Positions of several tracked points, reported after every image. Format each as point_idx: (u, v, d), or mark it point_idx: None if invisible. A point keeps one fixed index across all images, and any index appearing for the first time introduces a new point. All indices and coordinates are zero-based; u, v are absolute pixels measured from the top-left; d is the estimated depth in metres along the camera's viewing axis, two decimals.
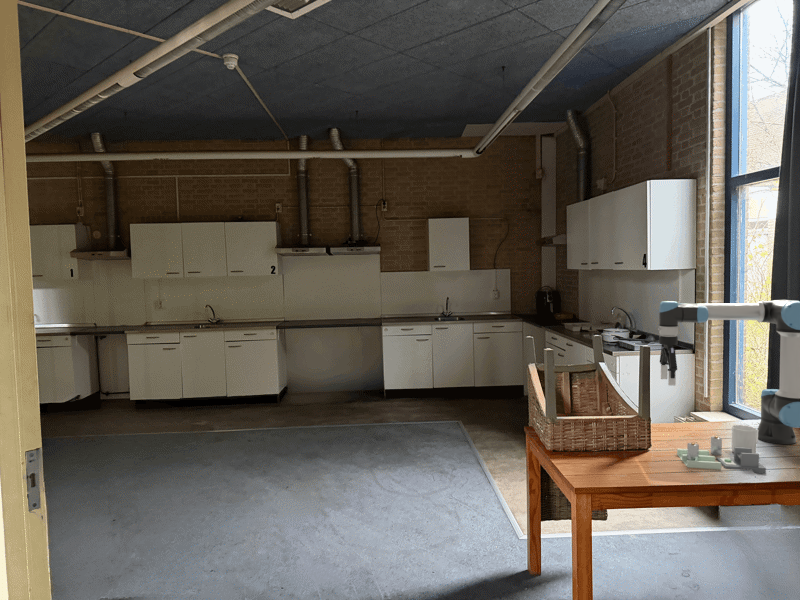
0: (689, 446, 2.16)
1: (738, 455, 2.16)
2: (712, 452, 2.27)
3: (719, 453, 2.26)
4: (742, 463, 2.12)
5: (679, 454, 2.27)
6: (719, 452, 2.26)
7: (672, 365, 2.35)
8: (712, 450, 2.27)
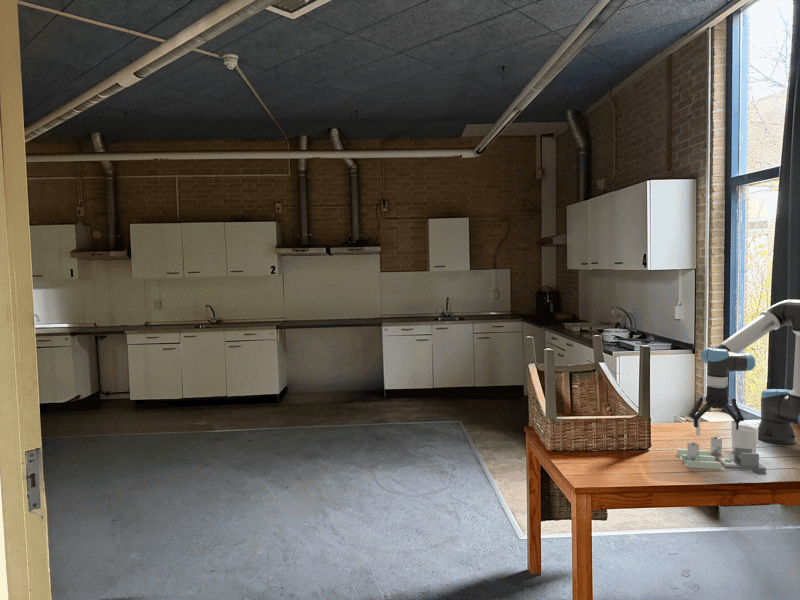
0: (689, 446, 2.16)
1: (738, 455, 2.16)
2: (712, 452, 2.27)
3: (719, 453, 2.26)
4: (742, 463, 2.12)
5: (679, 454, 2.27)
6: (719, 452, 2.26)
7: (691, 412, 2.30)
8: (712, 450, 2.27)
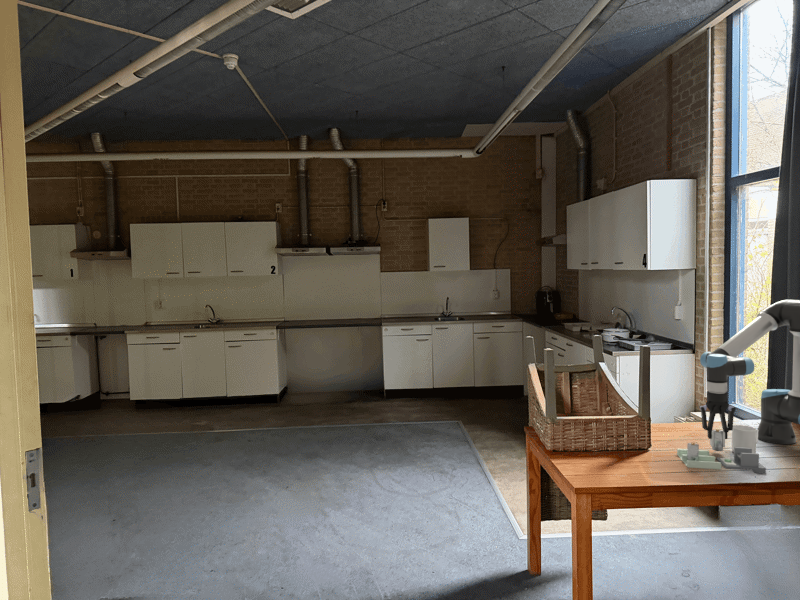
0: (689, 446, 2.16)
1: (738, 455, 2.16)
2: None
3: (720, 446, 2.26)
4: (742, 463, 2.12)
5: (679, 454, 2.27)
6: (720, 445, 2.26)
7: (702, 424, 2.29)
8: None
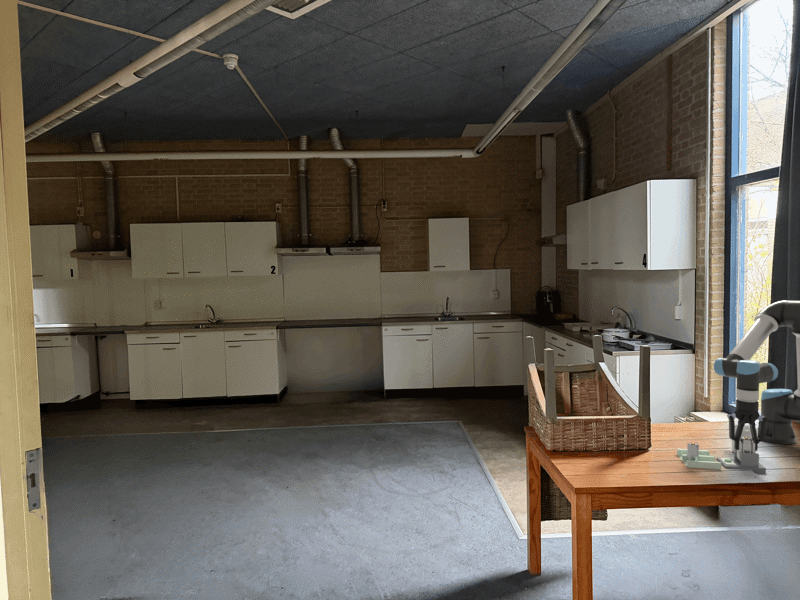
0: (689, 446, 2.16)
1: (738, 458, 2.16)
2: None
3: None
4: (742, 463, 2.12)
5: (679, 454, 2.27)
6: None
7: (729, 434, 2.16)
8: (742, 452, 2.14)
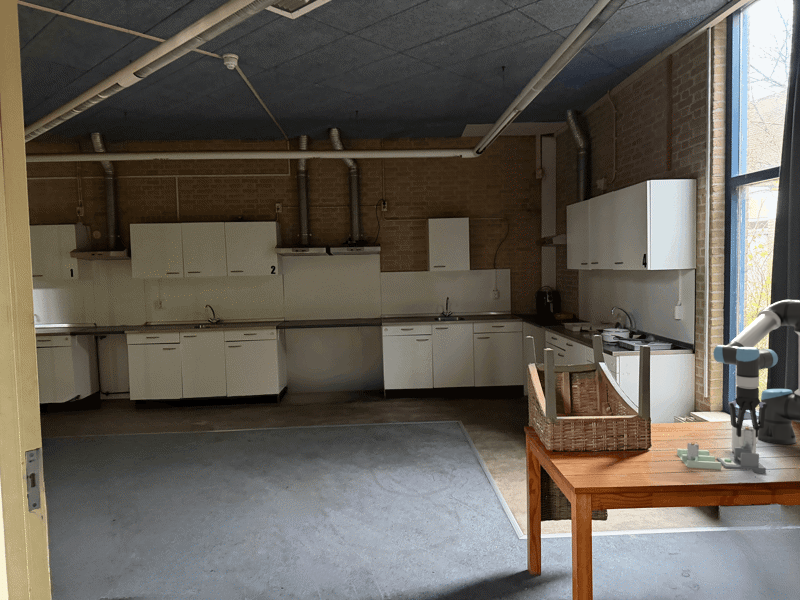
0: (689, 446, 2.16)
1: (738, 457, 2.16)
2: None
3: (750, 445, 2.12)
4: (742, 463, 2.12)
5: (679, 454, 2.27)
6: (750, 444, 2.12)
7: (731, 421, 2.16)
8: None
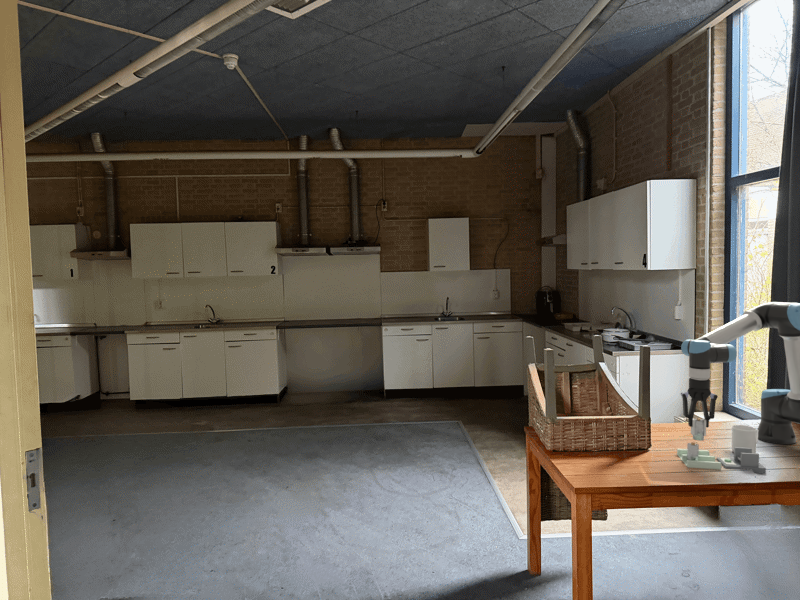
0: (689, 446, 2.16)
1: (738, 457, 2.16)
2: None
3: (701, 435, 2.20)
4: (742, 463, 2.12)
5: (679, 454, 2.27)
6: (701, 434, 2.20)
7: (683, 411, 2.23)
8: None
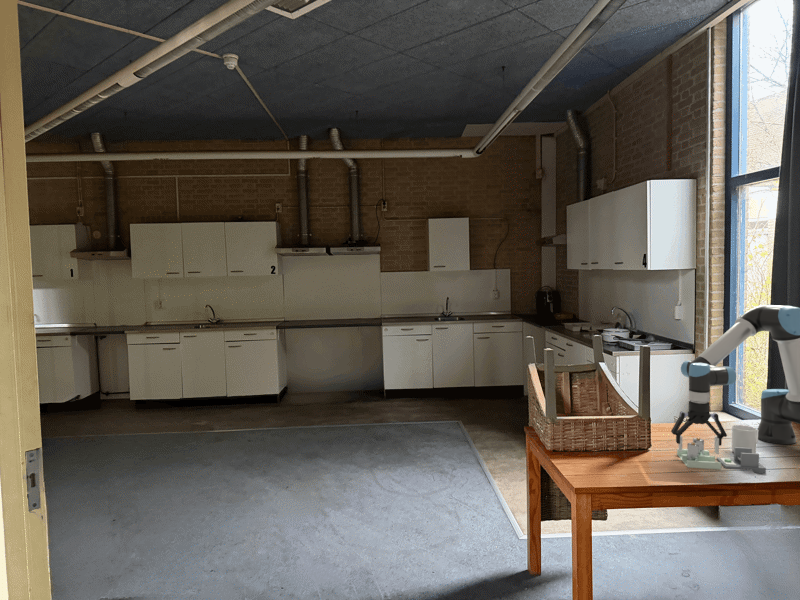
0: (689, 446, 2.16)
1: (738, 457, 2.16)
2: None
3: None
4: (742, 463, 2.12)
5: (679, 454, 2.27)
6: (701, 454, 2.20)
7: (673, 428, 2.25)
8: None
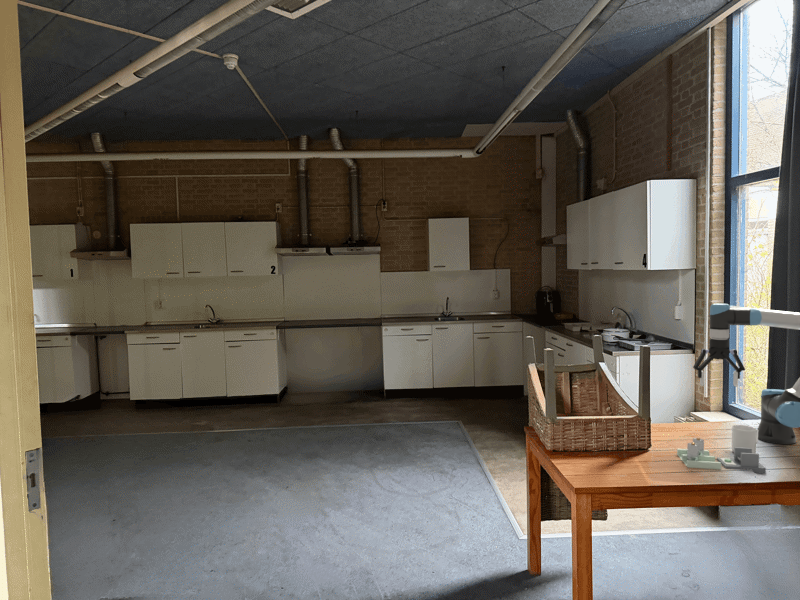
0: (689, 446, 2.16)
1: (738, 457, 2.16)
2: None
3: None
4: (742, 463, 2.12)
5: (679, 454, 2.27)
6: (701, 454, 2.20)
7: (695, 364, 2.44)
8: None
